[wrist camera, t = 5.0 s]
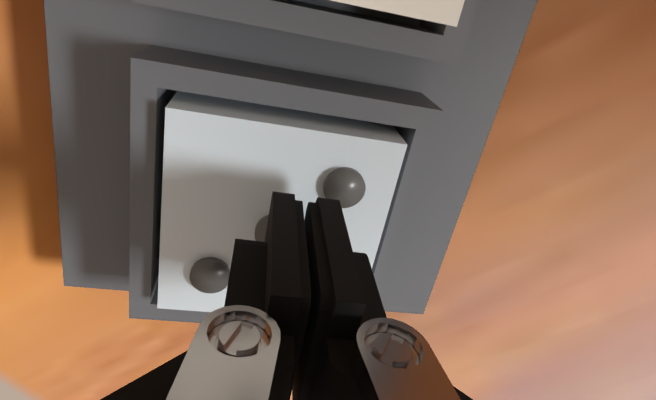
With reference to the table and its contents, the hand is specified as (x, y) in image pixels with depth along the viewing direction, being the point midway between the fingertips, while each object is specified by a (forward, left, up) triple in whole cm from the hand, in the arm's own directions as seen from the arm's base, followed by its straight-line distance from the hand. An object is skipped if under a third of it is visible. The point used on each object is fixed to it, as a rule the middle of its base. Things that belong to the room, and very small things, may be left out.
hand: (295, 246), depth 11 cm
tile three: (0, 0, -3) cm, 3 cm away
